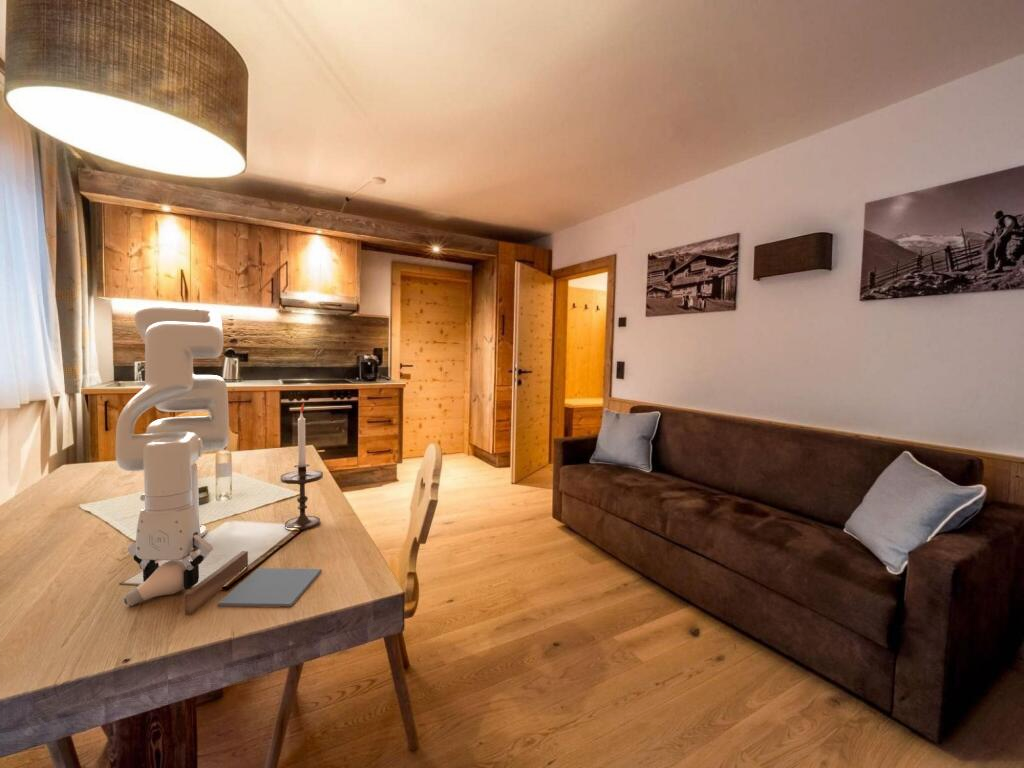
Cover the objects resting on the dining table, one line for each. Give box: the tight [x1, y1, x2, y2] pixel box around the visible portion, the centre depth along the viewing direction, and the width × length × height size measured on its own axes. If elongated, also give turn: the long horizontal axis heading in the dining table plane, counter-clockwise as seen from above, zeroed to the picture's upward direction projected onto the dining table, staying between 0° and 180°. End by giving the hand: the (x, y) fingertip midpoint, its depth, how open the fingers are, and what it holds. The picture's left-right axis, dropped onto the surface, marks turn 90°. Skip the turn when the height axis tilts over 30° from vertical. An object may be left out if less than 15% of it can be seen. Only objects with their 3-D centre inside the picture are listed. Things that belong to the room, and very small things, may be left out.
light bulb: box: [124, 560, 187, 607], centre depth 88 cm, size 7×7×11 cm
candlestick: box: [280, 402, 324, 532], centre depth 125 cm, size 11×11×35 cm
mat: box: [217, 567, 322, 608], centre depth 92 cm, size 14×14×1 cm
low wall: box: [183, 550, 249, 616], centre depth 91 cm, size 1×18×4 cm, turn 1°
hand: (171, 585), depth 90 cm, fingers closed on light bulb, 7 cm apart
